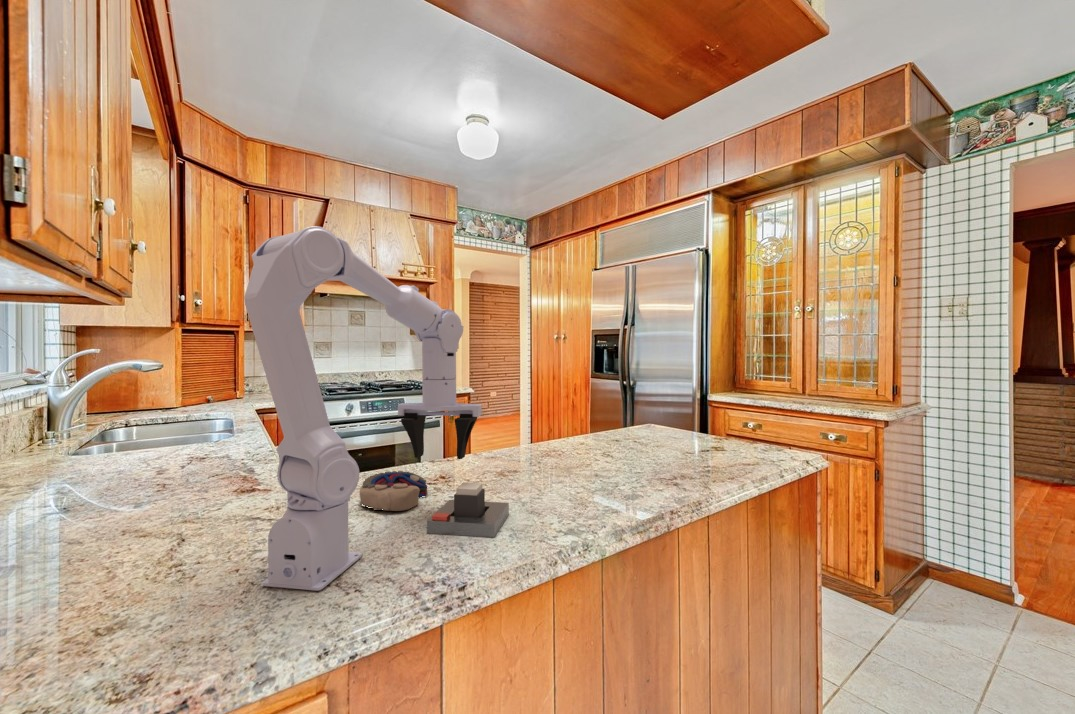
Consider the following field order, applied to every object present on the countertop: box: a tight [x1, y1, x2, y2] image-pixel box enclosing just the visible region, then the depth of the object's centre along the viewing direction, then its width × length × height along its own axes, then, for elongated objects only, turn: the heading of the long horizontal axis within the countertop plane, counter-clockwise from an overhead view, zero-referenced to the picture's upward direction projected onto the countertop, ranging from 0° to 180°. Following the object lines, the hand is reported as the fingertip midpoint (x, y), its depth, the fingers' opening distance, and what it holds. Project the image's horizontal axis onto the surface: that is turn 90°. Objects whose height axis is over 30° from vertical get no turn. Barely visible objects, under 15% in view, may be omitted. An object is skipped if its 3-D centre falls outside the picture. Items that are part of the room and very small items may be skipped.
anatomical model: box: [359, 470, 428, 512], centre depth 86 cm, size 12×16×5 cm
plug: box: [453, 481, 486, 518], centre depth 74 cm, size 4×4×6 cm
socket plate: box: [426, 499, 510, 538], centre depth 74 cm, size 10×11×3 cm
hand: (439, 457), depth 77 cm, fingers open, 7 cm apart
